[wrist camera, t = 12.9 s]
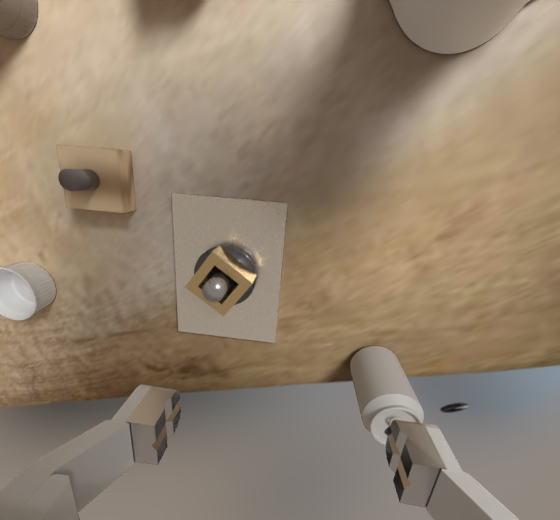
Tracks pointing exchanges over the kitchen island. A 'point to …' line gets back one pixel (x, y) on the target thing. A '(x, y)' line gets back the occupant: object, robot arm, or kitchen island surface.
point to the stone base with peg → (241, 245)
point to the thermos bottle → (17, 18)
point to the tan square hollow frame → (230, 268)
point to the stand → (97, 178)
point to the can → (383, 391)
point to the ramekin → (24, 290)
